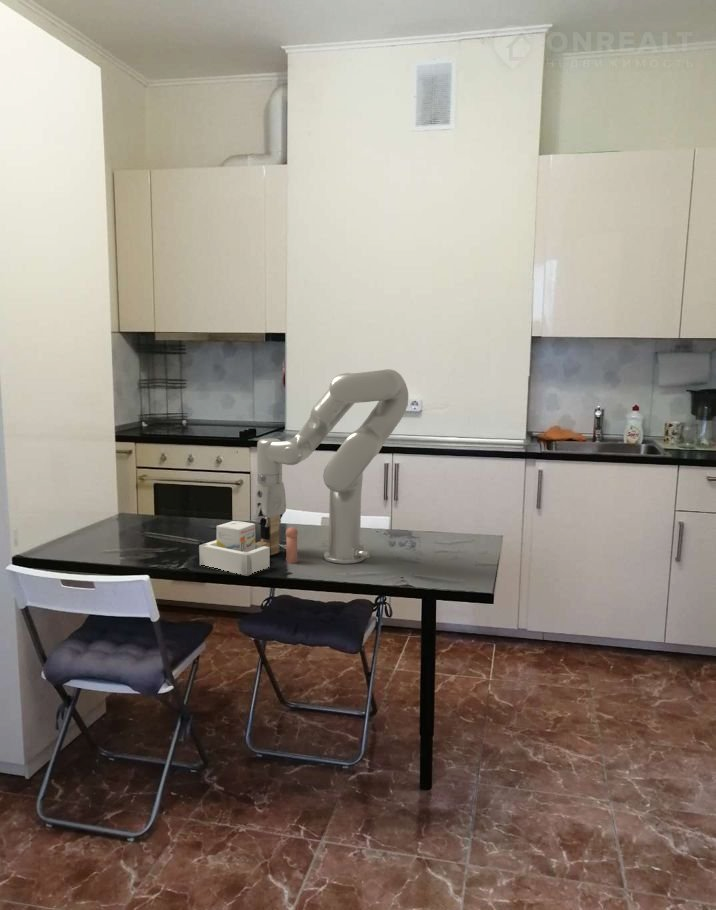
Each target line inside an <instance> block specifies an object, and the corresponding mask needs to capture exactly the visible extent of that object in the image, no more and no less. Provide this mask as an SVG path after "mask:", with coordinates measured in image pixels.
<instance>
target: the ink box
mask: <svg viewBox="0 0 716 910" xmlns="http://www.w3.org/2000/svg"><path fill="white" fill-rule="evenodd" d="M215 528H216V540H217V547H222V548H227V549H232V550H237V551H242V552H249V551H251V550H254V549H255V543H256V523H254V522H253V523H252V522H246V521H240V520H237V521H236V520H231V521H229V522H226V523H225V522H224V523H222V524H219V525H216V527H215Z"/></svg>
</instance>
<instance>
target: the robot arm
mask: <svg viewBox="0 0 716 910" xmlns="http://www.w3.org/2000/svg"><path fill="white" fill-rule="evenodd" d="M369 402H377V403H376V405H375V406H374V407H373V409H372V410H371V412H370V413H369V415H368V416H367V418H366V419H365V420H364V422H362V424H361V425H360V426H359V427H358V428H357V429H355V430H354V431H352V432H351V433H350V434H349V435H348V436H346V439H344V441H343V442H342V443H341V445H340V447H339V448H338V449H337V450H336V452H335V453H334V455H333V456H332V457H331V458H330V460H329V461H328V463H326V465H325V468H324V469H323V475H322V478H323V483H324V485H325V486H326V487H327V489H329V503H328V505H329V509H328V512H329V513H328V514H329V516H328V517H329V519H328V526H329V527H328V529H329V530H328V532H329V533H328V550H327V551H326V552H324V553H323V559H324V560H325V561H327V562H330V563H333V564H341V565H342V564H344V565H345V564H355V563H361V562H362V561H364V560H365V559H366V558H367V559H369V558H370V556H371V550H370V549H365V548H364V543H361V517H362V515H361V513H362V511H361V510H362V490H363V479H364V478H363V477H364V475H363V474H364V471H365V470H366V469H367V467H369V465H370V463H371V462H372V461H373V459H374V458H375V457H376V456H377V455H378V454H379V453H380V451H381V449H382V448H383V446H384V444H386V442H387V440H388V439H389V437H390V436H391V435H392V433H393V432H394V431H395V429H396V427H397V426H398V425H399V423H400V422H401V420H402V419H403V417H404V415H405V413H406V411H407V407H408V404H409V391H408V387H407V383H406V381H405V379H404V378H403V376H402V375H401V374H400V373H399V372H398V371H396V370H394V369H390V368H389V369H380V370H379V369H378V370H372V371H366V372H365V371H364V372H355V373H354V372H351V373H350V372H346V373H340V374H338V375H336V376H334V378H332V380H331V382H330V383H329V388H328V390H327V391H325V393H324V394H323V395H322V396H321V397H320V399H319V400H318V401H317V402H316V404H314V405H313V407H312V409H311V411H310V415H309V418H308V420H307V421H306V423H305V424H304V425H303V426H302V428H301V429H299V431H298V432H297V434H295V436H294V437H293V438H292V437H291V438H290V439H288V440H283V441H282V440H280V439H279V438H270V437H269V438H261V439H259V440H258V441H257V443H256V444H257V445H256V447H257V448H256V450H257V451H256V453H257V454H256V455H257V456H256V457H257V461H256V462H257V466H256V467H257V472H256V473H257V474H256V475H257V478H256V479H257V484H256V490H255V500H254V501H255V502H254V503H255V504H254V511H255V515H254V517H253V519H254V520H255V521H256V522H257V524H258V526H259V527H260V540H261V539H266V540H269V539H270V527H268V524H269V518H271V517H274V516H278V515H279V536H280V527H281V526H280V524H281V523H282V522H281V521H282V518H283V515H284V514H285V513H286V511H287V504H286V503H287V501H286V499H287V498H286V489H285V488H286V487H285V485H284V482H283V465H287V466H295V465H298V464H299V463H301V462H303V461H304V460H306V459H308V458H309V457H310V455H312V454H313V452H314V451H315V450H316V448H318V447H319V445H320V444H321V443H322V442H323V441H324V440H325V439H326V437H327V436H328V435H329V434H330V433H331V431H332V430H334V427H335V426H336V425H337V424H338V423H339V422H340V421H341V420H342V418H343V417H344V416H345V414H346V413H348V411H349V410H350V409H351V408H352V407H353V406H354V404H360V403H369ZM263 518H265V521H264V520H263Z"/></svg>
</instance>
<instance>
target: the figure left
mask: <svg viewBox="0 0 716 910" xmlns="http://www.w3.org/2000/svg"><path fill="white" fill-rule="evenodd" d="M298 535H299V531H298V529H297V528H296V527H293V526H290V527H288V528H287V529H286V531H285V536H286V539H285V540H286V541H285V544H286V545H285V549H286V550H285V551H286V554H285V556H286V557H285V558H286V561H285V562H286V563H287V564H296V563H298Z"/></svg>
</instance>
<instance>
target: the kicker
mask: <svg viewBox="0 0 716 910" xmlns="http://www.w3.org/2000/svg"><path fill="white" fill-rule="evenodd" d="M263 520H264V521H265V518H263ZM279 524H280V523H279V515H278V516H274V517H271V518H269V524H268V527H270V539H269V540H266V539H261V538H260V541H258V542H255V549H257V548H260V547H263V546H266V547H270V556H273V555H276V554H278V553H280V535H279Z"/></svg>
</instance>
